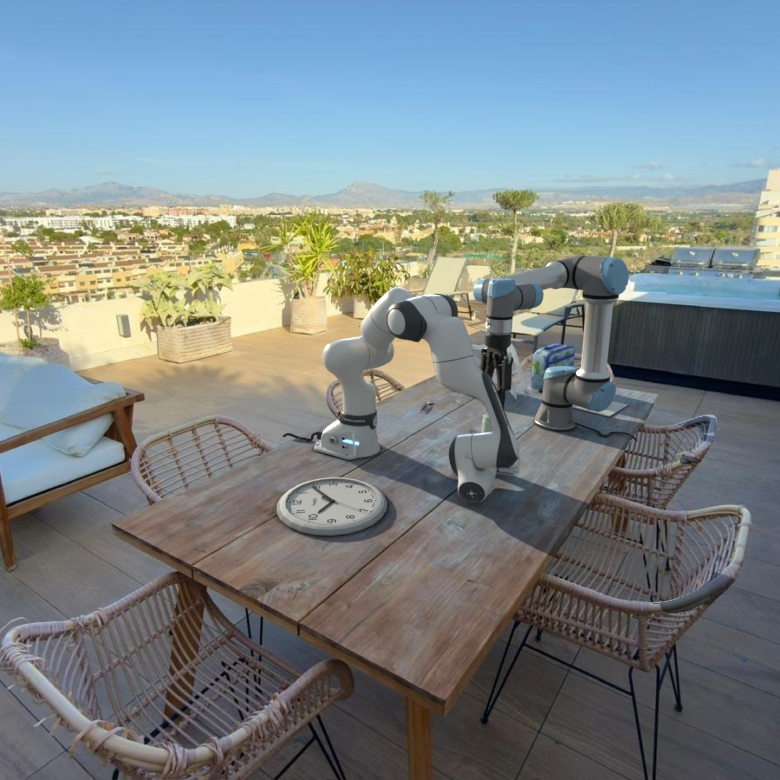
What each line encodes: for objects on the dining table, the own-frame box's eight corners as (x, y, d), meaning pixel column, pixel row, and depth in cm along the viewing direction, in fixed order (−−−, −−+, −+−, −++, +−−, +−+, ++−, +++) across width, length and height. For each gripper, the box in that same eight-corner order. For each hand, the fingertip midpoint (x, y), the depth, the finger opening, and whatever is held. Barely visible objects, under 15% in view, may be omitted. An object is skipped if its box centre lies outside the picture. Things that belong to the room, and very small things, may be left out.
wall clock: (392, 527, 129) (268, 531, 127) (391, 533, 130) (269, 537, 127) (383, 473, 158) (282, 475, 155) (383, 478, 158) (282, 480, 156)
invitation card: (608, 416, 214) (573, 407, 224) (608, 416, 214) (573, 408, 224) (628, 404, 229) (594, 396, 238) (628, 405, 229) (594, 397, 238)
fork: (417, 411, 216) (418, 406, 216) (428, 400, 231) (428, 395, 230) (423, 412, 215) (424, 407, 215) (434, 400, 230) (434, 396, 229)
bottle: (477, 465, 168) (481, 412, 163) (494, 466, 168) (499, 413, 162) (479, 473, 163) (483, 418, 158) (497, 474, 163) (501, 419, 157)
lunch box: (547, 395, 239) (552, 351, 233) (526, 390, 247) (530, 347, 240) (574, 384, 257) (579, 343, 251) (554, 380, 264) (558, 339, 258)
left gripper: (519, 464, 148) (523, 446, 160) (448, 453, 154) (458, 436, 167) (517, 484, 150) (521, 464, 162) (447, 472, 156) (457, 454, 168)
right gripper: (470, 327, 159) (466, 399, 166) (506, 340, 143) (500, 419, 150) (491, 326, 162) (486, 396, 169) (528, 338, 145) (522, 416, 152)
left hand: (489, 450), depth 164 cm, fingers closed on bottle, 5 cm apart
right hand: (493, 407), depth 159 cm, fingers closed on lid, 6 cm apart
